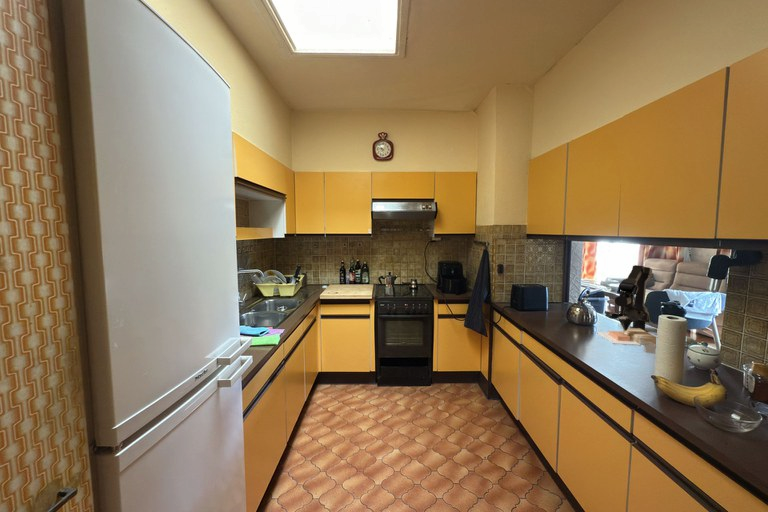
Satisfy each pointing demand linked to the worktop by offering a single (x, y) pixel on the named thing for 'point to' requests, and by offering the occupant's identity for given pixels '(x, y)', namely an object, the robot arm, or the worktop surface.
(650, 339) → the board
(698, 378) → the worktop surface
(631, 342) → the mat
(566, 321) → the worktop surface
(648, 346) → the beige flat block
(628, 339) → the tile
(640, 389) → the worktop surface
